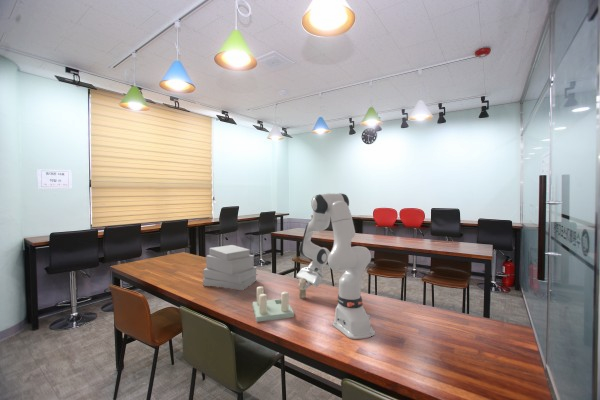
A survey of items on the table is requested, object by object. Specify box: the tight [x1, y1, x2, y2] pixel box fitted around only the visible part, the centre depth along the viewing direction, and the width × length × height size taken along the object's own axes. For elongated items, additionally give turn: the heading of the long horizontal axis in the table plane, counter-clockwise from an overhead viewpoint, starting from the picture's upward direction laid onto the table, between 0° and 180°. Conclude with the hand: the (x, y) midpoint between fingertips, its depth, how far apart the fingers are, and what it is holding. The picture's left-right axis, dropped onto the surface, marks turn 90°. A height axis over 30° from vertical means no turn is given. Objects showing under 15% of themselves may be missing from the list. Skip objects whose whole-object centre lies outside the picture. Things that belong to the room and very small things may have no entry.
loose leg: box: [298, 278, 307, 300], centre depth 169 cm, size 4×4×12 cm
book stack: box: [202, 244, 258, 291], centre depth 197 cm, size 30×35×26 cm
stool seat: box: [252, 286, 295, 323], centre depth 150 cm, size 20×20×12 cm
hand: (301, 287), depth 169 cm, fingers closed on loose leg, 4 cm apart
